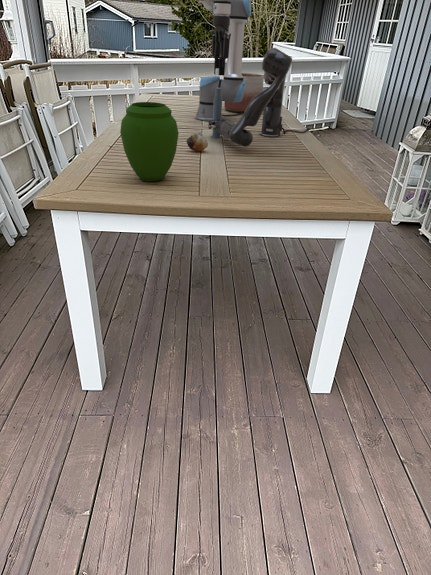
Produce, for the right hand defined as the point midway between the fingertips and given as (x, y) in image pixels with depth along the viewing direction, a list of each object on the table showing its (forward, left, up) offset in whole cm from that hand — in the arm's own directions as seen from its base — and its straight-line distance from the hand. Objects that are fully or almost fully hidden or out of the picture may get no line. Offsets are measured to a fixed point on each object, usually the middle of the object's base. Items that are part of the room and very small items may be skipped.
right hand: (215, 122), depth 207 cm
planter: (-47, -72, -7) cm, 86 cm away
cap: (0, +2, +24) cm, 24 cm away
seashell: (+19, +29, -7) cm, 35 cm away
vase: (+47, +63, -7) cm, 79 cm away
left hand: (0, +2, +22) cm, 22 cm away
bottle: (0, +3, -7) cm, 7 cm away
